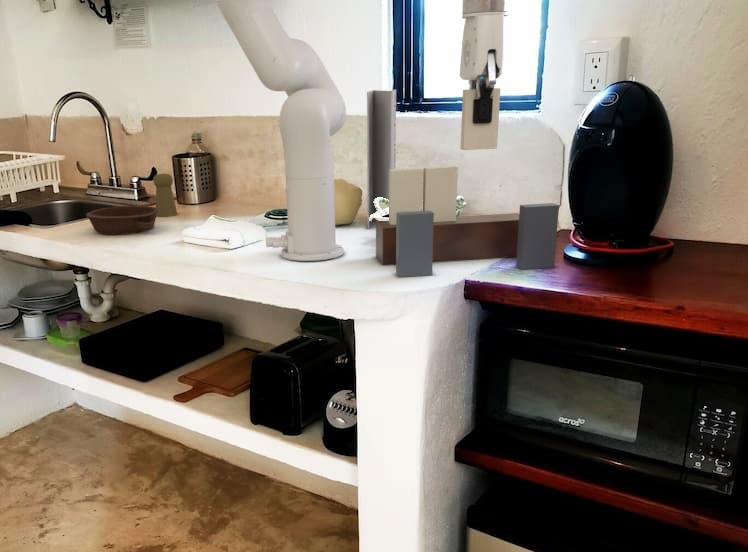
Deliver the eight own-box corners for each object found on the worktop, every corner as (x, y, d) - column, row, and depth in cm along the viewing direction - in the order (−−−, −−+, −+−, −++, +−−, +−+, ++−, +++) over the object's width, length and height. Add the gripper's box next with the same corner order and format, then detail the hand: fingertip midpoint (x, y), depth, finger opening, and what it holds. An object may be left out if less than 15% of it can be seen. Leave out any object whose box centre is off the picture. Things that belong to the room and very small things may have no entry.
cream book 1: (390, 225, 145) (390, 170, 142) (388, 223, 147) (388, 169, 143) (422, 223, 145) (423, 168, 142) (419, 221, 147) (420, 167, 144)
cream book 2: (424, 223, 145) (425, 168, 142) (422, 221, 147) (423, 167, 144) (456, 221, 146) (457, 166, 142) (453, 219, 147) (454, 165, 144)
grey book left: (398, 277, 136) (399, 214, 132) (395, 273, 139) (396, 212, 135) (432, 275, 136) (433, 212, 132) (428, 271, 139) (430, 210, 135)
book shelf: (382, 265, 145) (382, 228, 143) (375, 257, 152) (375, 221, 149) (528, 255, 146) (530, 219, 144) (515, 248, 153) (517, 212, 150)
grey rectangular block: (520, 269, 137) (525, 207, 133) (515, 266, 139) (519, 204, 136) (554, 267, 137) (559, 205, 133) (548, 264, 140) (553, 202, 136)
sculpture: (369, 222, 187) (368, 177, 183) (339, 230, 179) (338, 183, 175) (331, 218, 194) (330, 175, 190) (301, 226, 186) (299, 181, 182)
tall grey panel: (391, 228, 178) (392, 90, 167) (367, 228, 179) (366, 92, 168) (395, 217, 191) (396, 89, 180) (372, 218, 192) (372, 90, 181)
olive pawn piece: (155, 213, 215) (151, 173, 211) (177, 212, 216) (173, 172, 212) (155, 217, 210) (150, 175, 206) (177, 215, 210) (173, 174, 206)
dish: (121, 241, 180) (118, 220, 178) (70, 232, 194) (67, 212, 193) (179, 229, 191) (177, 208, 189) (127, 221, 206) (125, 202, 204)
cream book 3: (463, 150, 136) (466, 89, 132) (460, 149, 138) (462, 89, 134) (496, 148, 136) (500, 88, 133) (493, 147, 138) (496, 88, 134)
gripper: (451, 12, 136) (447, 121, 143) (476, 4, 121) (471, 126, 128) (493, 10, 136) (487, 119, 143) (524, 2, 121) (515, 124, 128)
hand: (479, 122), depth 135 cm, fingers closed on cream book 3, 2 cm apart
